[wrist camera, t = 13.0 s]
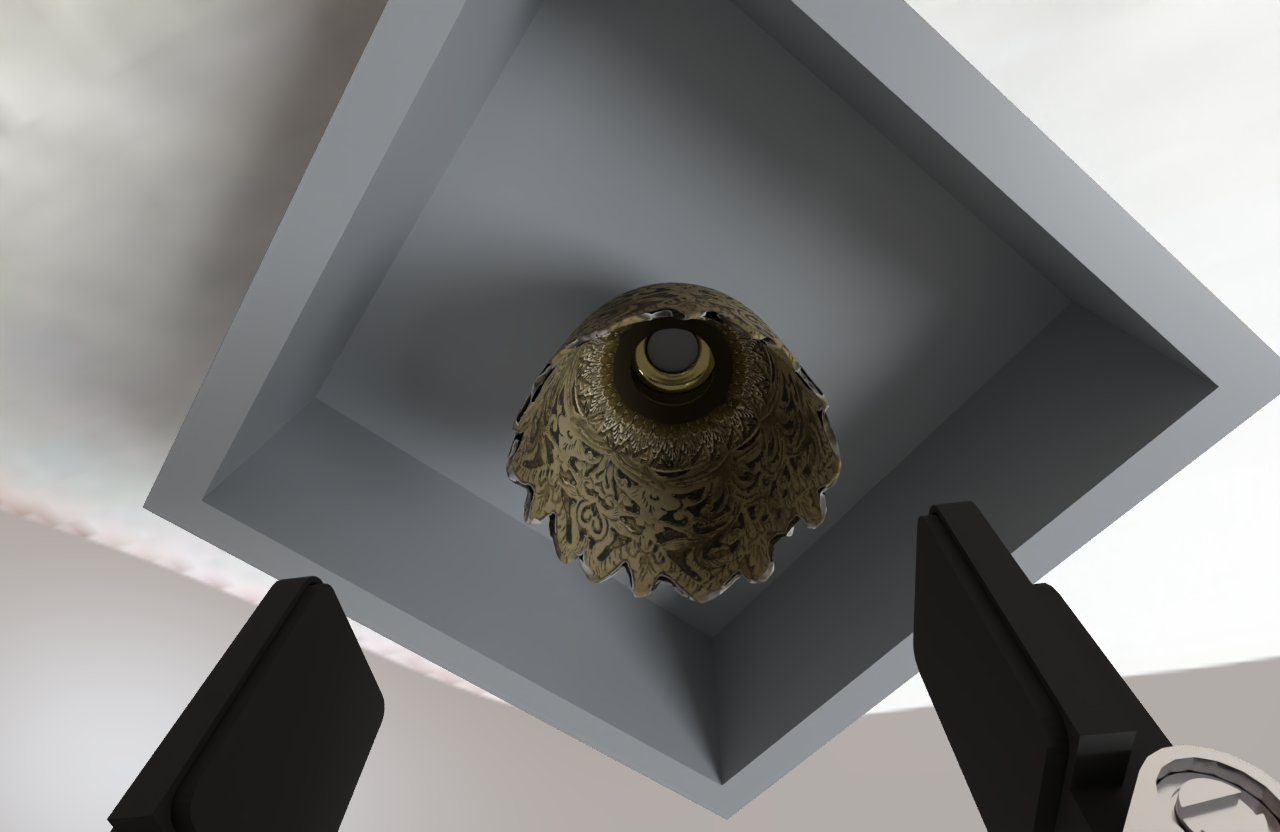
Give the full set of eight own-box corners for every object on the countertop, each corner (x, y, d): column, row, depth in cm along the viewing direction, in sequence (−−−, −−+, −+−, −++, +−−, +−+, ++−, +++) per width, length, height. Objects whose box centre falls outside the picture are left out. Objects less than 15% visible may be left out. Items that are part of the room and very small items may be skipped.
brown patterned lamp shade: (650, 181, 21) (637, 241, 13) (836, 326, 22) (913, 448, 15) (517, 368, 23) (448, 500, 16) (691, 484, 25) (697, 650, 18)
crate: (284, 391, 25) (142, 507, 19) (598, -181, 18) (550, -336, 11) (715, 651, 30) (727, 819, 23) (1112, 285, 22) (1300, 377, 16)
